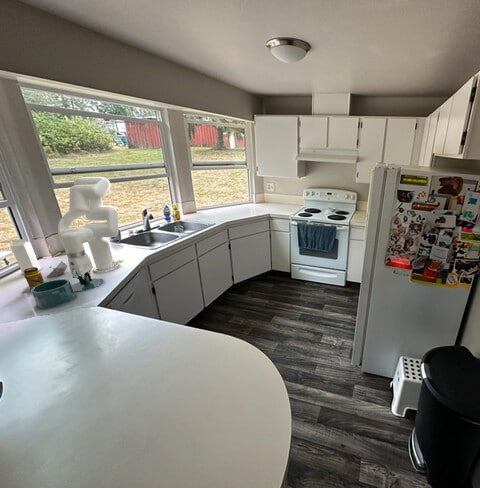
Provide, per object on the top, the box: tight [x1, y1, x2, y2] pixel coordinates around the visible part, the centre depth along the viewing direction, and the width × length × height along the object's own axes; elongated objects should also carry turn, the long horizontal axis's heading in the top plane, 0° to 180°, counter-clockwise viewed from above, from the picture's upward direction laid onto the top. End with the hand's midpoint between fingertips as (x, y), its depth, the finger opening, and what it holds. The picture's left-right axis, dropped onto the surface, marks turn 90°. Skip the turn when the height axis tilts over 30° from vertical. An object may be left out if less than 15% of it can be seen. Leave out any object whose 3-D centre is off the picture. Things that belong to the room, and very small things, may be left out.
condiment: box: [22, 267, 46, 294], centre depth 140 cm, size 7×8×12 cm
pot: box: [30, 278, 76, 309], centre depth 129 cm, size 14×19×10 cm
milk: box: [10, 238, 41, 275], centre depth 157 cm, size 6×6×22 cm
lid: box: [71, 275, 104, 293], centre depth 145 cm, size 15×15×7 cm
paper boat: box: [47, 260, 68, 278], centre depth 158 cm, size 12×6×9 cm
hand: (86, 282), depth 145 cm, fingers closed on lid, 3 cm apart
